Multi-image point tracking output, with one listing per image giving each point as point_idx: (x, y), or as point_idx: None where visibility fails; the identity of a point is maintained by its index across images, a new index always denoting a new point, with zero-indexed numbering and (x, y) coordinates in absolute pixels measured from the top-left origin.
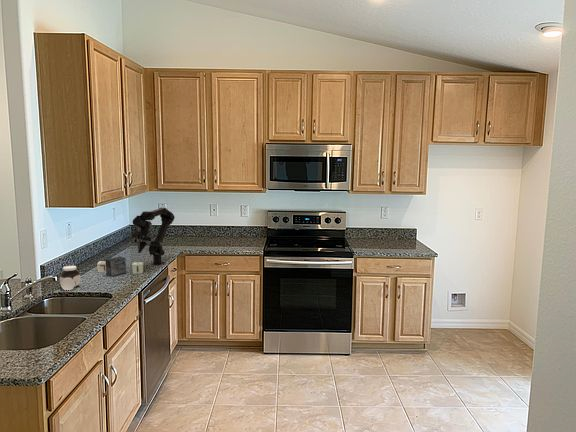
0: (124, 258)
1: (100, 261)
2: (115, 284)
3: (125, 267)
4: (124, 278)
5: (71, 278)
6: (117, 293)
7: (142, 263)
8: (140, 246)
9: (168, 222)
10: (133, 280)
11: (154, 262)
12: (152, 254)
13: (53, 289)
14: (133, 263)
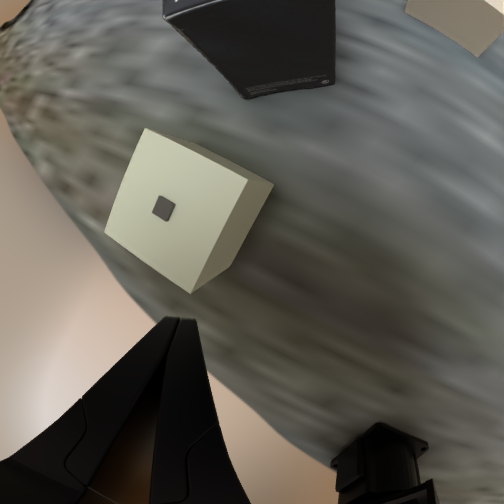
0: (166, 13)
1: None
2: (69, 20)
3: (220, 72)
4: (120, 60)
5: None
6: (6, 41)
7: (127, 249)
8: (75, 440)
9: None
10: (58, 106)
11: (377, 445)
12: (406, 492)
13: None
14: (190, 158)
